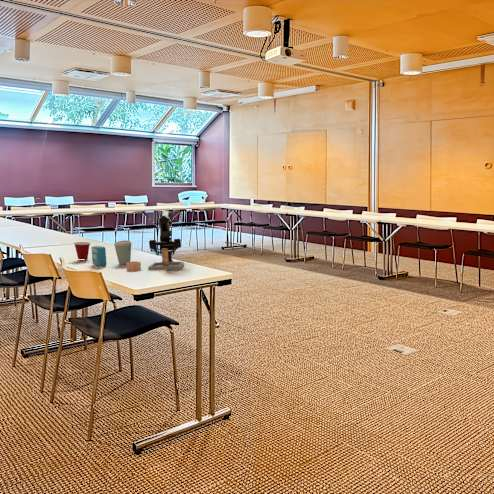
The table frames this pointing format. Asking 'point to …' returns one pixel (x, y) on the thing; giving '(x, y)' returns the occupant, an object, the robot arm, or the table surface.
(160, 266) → the tray
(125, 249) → the disposable coffee cup
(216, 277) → the table surface
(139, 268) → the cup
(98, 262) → the data package
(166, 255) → the dowel
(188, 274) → the table surface
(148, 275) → the table surface
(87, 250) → the plastic cup
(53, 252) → the table surface
